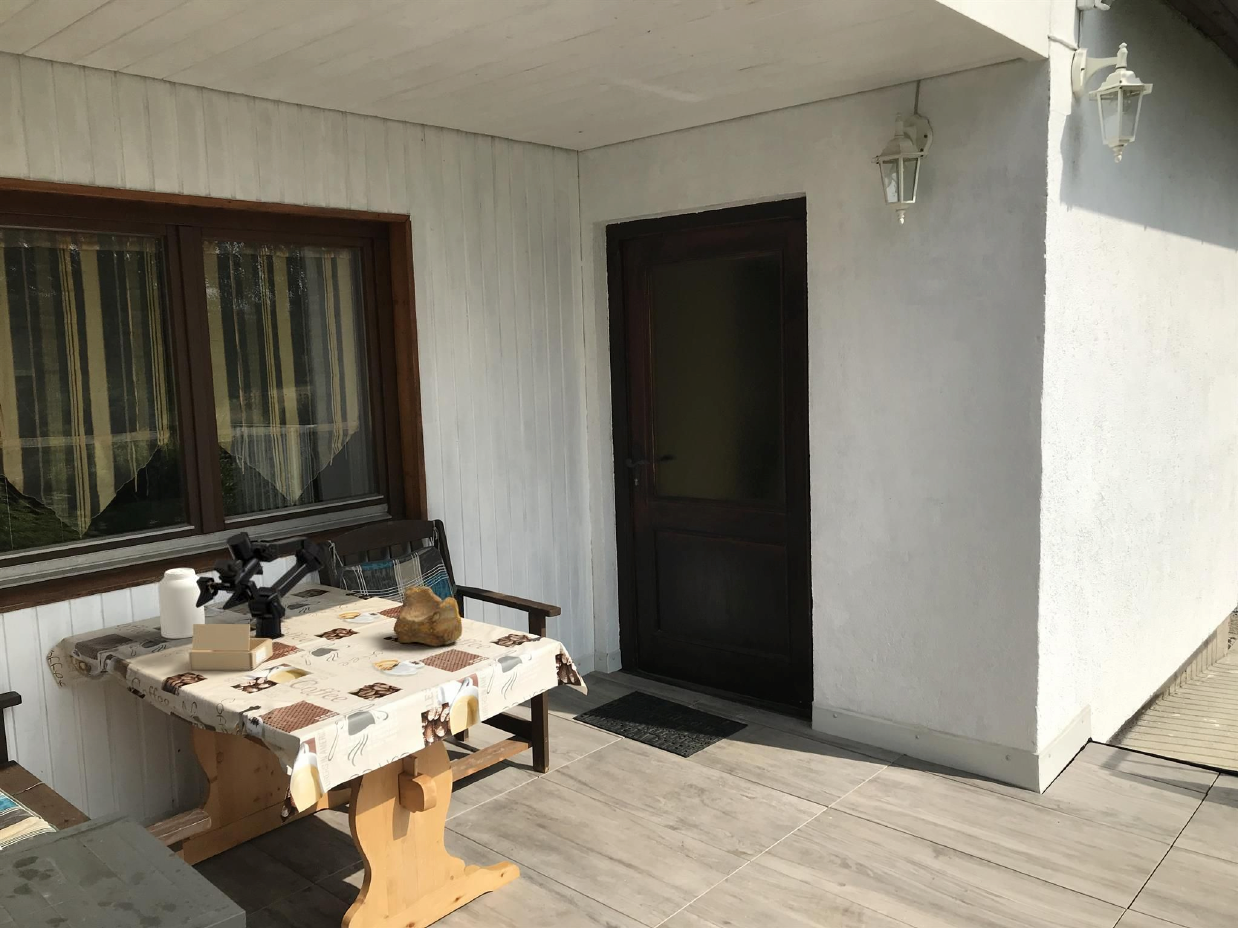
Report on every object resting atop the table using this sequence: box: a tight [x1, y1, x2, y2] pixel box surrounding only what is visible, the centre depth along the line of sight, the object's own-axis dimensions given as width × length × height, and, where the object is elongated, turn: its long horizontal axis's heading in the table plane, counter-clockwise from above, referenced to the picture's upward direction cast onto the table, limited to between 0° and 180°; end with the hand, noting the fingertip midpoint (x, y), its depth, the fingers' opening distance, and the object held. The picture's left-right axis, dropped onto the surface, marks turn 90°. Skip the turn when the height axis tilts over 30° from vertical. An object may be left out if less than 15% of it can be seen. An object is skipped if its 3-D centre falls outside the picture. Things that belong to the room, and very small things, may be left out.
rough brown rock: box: [393, 585, 463, 648], centre depth 292 cm, size 23×16×15 cm
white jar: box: [157, 567, 206, 640], centre depth 303 cm, size 12×12×20 cm
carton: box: [188, 637, 274, 671], centre depth 275 cm, size 14×18×5 cm
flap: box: [191, 623, 251, 651], centre depth 268 cm, size 1×16×7 cm, turn 86°
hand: (209, 607), depth 275 cm, fingers open, 9 cm apart
